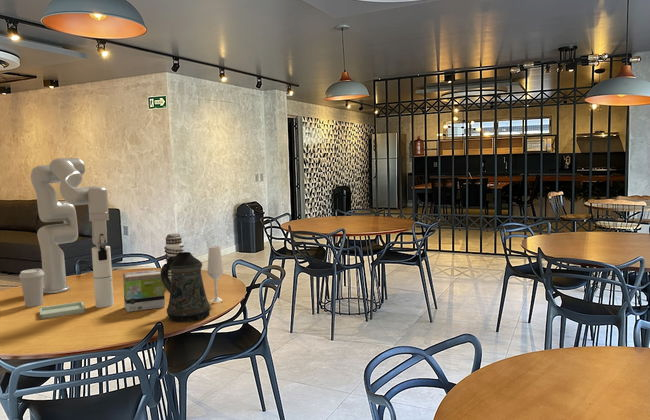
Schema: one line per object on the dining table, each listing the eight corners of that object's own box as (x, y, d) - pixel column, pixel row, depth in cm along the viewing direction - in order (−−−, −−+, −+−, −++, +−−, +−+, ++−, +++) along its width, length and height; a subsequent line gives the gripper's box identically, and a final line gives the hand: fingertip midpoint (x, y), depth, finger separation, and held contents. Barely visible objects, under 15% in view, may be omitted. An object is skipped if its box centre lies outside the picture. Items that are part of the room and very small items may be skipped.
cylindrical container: (91, 306, 211) (87, 248, 209) (104, 302, 218) (101, 245, 215) (104, 308, 209) (100, 249, 206) (117, 303, 215) (113, 246, 213)
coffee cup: (35, 308, 210) (32, 273, 208) (15, 307, 212) (12, 273, 210) (51, 302, 219) (49, 268, 218) (33, 301, 221) (30, 268, 220)
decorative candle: (177, 280, 254) (175, 232, 252) (189, 283, 249) (187, 233, 246) (162, 284, 247) (159, 234, 244) (174, 287, 242) (171, 236, 239)
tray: (39, 311, 205) (39, 307, 205) (82, 305, 213) (82, 301, 213) (40, 319, 195) (40, 314, 195) (85, 312, 203) (85, 308, 203)
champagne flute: (220, 304, 211) (218, 248, 209) (206, 303, 213) (203, 247, 210) (227, 299, 218) (224, 245, 216) (212, 299, 219) (210, 245, 217)
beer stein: (207, 321, 188) (204, 256, 186) (154, 324, 187) (150, 258, 184) (213, 308, 205) (210, 248, 202) (164, 311, 203) (161, 250, 201)
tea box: (127, 313, 201) (124, 277, 200) (124, 307, 210) (122, 272, 209) (165, 307, 208) (163, 272, 207) (161, 301, 217) (159, 268, 215)
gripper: (87, 215, 215) (89, 256, 217) (91, 219, 200) (94, 263, 202) (106, 214, 219) (108, 254, 221) (111, 218, 204) (114, 260, 206)
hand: (101, 258), depth 211 cm, fingers closed on cylindrical container, 7 cm apart
